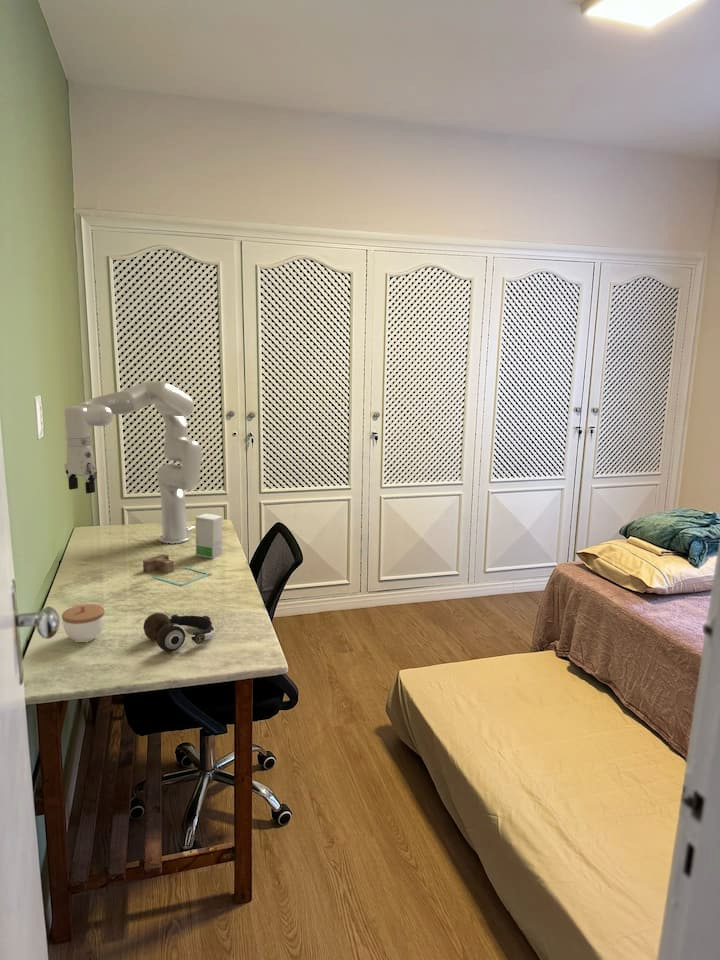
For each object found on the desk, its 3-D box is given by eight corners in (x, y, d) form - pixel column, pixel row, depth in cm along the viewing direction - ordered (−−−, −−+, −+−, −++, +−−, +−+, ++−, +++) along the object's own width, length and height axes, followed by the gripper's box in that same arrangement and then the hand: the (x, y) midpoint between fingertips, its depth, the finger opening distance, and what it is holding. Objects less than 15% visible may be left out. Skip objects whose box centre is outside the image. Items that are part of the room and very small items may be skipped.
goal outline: (183, 566, 237) (183, 566, 237) (211, 574, 229) (211, 573, 229) (153, 577, 225) (153, 577, 225) (181, 586, 218) (181, 585, 218)
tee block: (143, 571, 231) (142, 560, 230) (163, 564, 239) (162, 554, 238) (160, 576, 227) (160, 565, 226) (180, 569, 234) (179, 558, 233)
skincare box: (195, 556, 249) (194, 516, 245) (205, 551, 255) (204, 512, 251) (213, 559, 246) (212, 519, 242) (223, 554, 252) (222, 515, 248)
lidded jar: (114, 632, 183) (111, 600, 181) (90, 649, 172) (87, 616, 171) (80, 627, 185) (78, 596, 183) (55, 644, 175) (52, 611, 173)
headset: (138, 609, 179) (204, 601, 192) (135, 636, 180) (201, 626, 193) (165, 629, 166) (233, 620, 180) (162, 658, 167) (230, 647, 180)
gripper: (103, 443, 221) (106, 492, 225) (73, 438, 230) (76, 485, 234) (84, 446, 215) (87, 496, 218) (53, 441, 224) (57, 489, 228)
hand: (82, 490), depth 226 cm, fingers open, 9 cm apart
